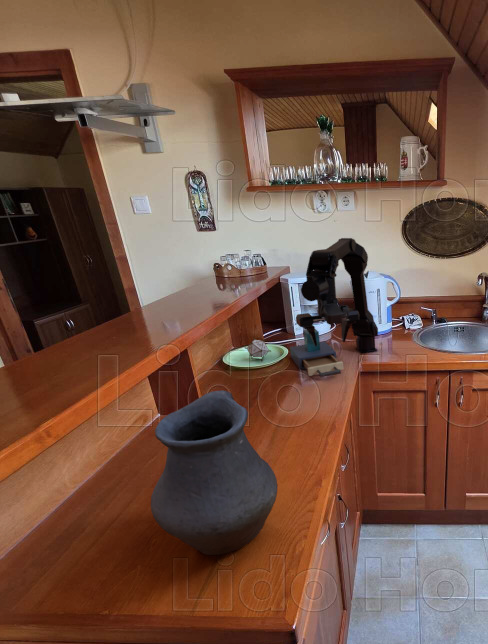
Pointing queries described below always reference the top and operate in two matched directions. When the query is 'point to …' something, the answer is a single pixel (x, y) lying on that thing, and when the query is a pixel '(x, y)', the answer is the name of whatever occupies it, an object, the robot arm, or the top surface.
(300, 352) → the cabinet
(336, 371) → the drawer
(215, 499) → the dark grey clay pot
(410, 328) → the top surface
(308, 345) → the block
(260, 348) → the game die
